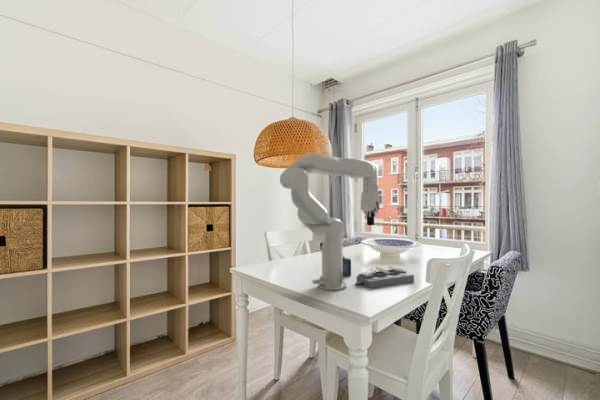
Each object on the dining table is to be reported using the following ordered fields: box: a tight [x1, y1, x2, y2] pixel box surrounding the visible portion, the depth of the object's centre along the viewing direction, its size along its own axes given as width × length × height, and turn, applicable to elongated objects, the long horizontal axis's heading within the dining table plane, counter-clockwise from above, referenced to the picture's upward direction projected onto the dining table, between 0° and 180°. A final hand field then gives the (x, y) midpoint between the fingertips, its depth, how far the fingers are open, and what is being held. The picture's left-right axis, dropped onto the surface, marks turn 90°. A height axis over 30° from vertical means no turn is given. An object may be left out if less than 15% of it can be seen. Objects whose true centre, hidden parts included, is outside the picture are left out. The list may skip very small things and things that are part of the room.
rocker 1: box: [361, 268, 377, 276], centre depth 131 cm, size 6×4×1 cm, turn 113°
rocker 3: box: [387, 265, 404, 271], centre depth 137 cm, size 6×4×1 cm, turn 113°
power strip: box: [354, 269, 415, 290], centre depth 131 cm, size 30×10×4 cm, turn 113°
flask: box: [343, 256, 352, 277], centre depth 146 cm, size 9×3×11 cm, turn 72°
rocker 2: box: [375, 266, 390, 273], centre depth 134 cm, size 6×4×1 cm, turn 113°
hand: (370, 224), depth 139 cm, fingers closed
